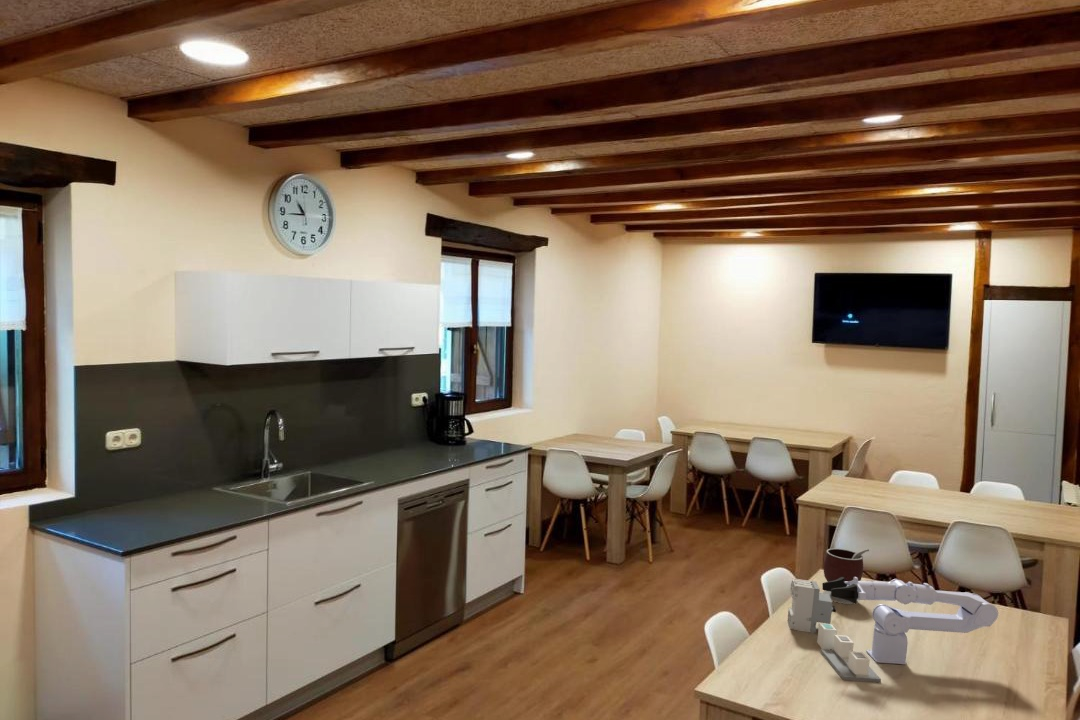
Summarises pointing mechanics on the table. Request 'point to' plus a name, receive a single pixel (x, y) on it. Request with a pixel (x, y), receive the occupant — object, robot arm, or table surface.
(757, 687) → the table surface
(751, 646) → the table surface
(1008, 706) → the table surface
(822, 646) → the block
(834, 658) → the board
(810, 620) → the circuit breaker
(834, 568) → the mate gourd
